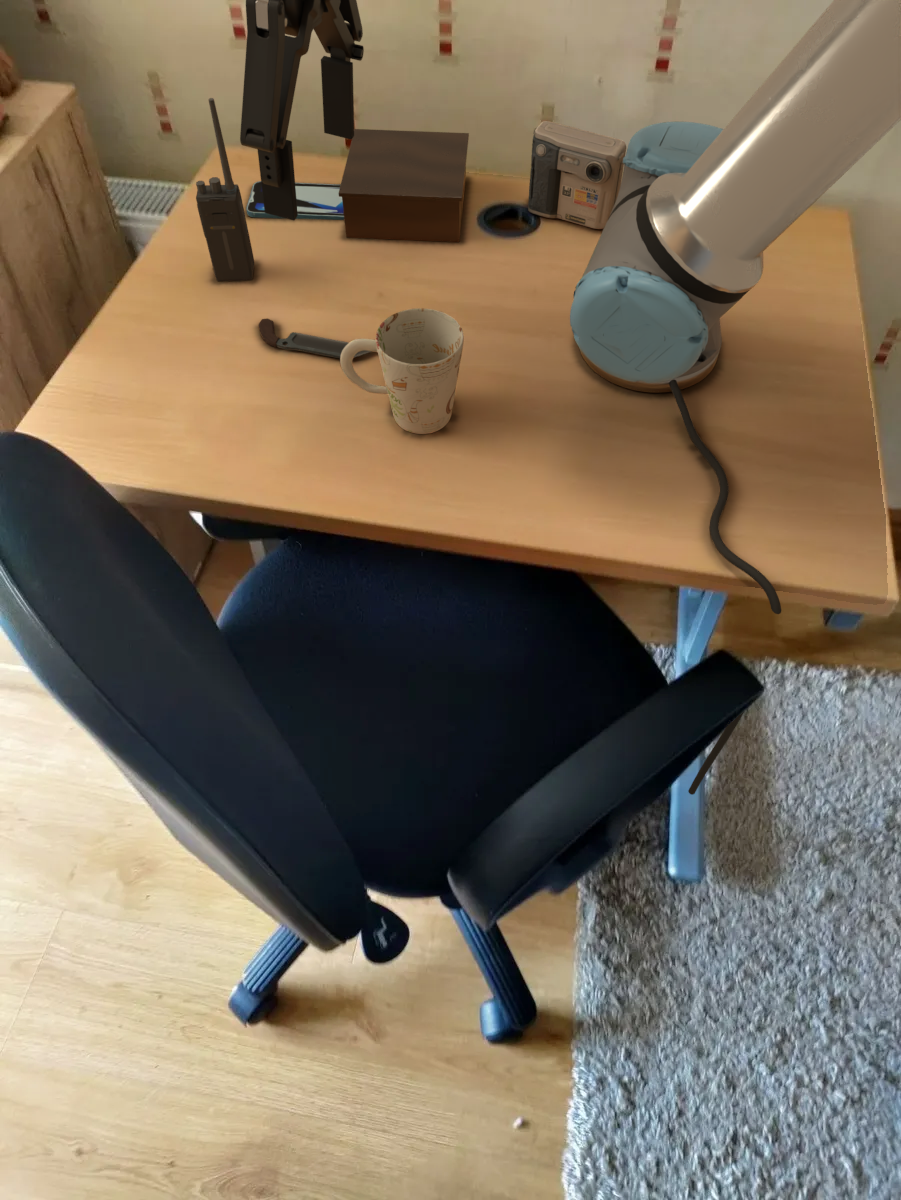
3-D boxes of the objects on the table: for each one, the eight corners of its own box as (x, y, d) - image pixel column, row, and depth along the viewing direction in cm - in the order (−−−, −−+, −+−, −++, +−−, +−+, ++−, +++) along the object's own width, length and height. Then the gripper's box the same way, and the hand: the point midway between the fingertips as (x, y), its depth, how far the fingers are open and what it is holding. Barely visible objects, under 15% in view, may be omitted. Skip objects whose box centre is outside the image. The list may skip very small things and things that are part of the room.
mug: (453, 448, 89) (454, 370, 80) (333, 430, 90) (321, 352, 82) (469, 392, 93) (471, 313, 85) (354, 376, 95) (345, 297, 87)
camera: (520, 212, 112) (525, 133, 104) (539, 190, 115) (546, 111, 107) (603, 238, 109) (615, 159, 101) (621, 214, 112) (634, 135, 104)
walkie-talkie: (256, 262, 106) (221, 89, 90) (254, 280, 104) (218, 105, 88) (216, 264, 106) (174, 90, 90) (214, 281, 104) (169, 107, 88)
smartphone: (363, 217, 111) (244, 212, 111) (364, 224, 112) (246, 219, 112) (369, 185, 115) (254, 180, 115) (369, 192, 116) (255, 187, 116)
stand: (461, 243, 108) (461, 197, 103) (343, 238, 109) (338, 192, 104) (468, 178, 117) (468, 132, 112) (358, 174, 117) (354, 128, 112)
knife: (249, 343, 98) (248, 338, 97) (263, 321, 100) (262, 316, 99) (369, 367, 95) (368, 361, 95) (381, 343, 98) (380, 338, 97)
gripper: (311, -184, 68) (324, 96, 86) (158, -61, 55) (211, 241, 73) (402, -165, 68) (397, 113, 85) (270, -36, 54) (296, 263, 72)
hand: (311, 172), depth 79 cm, fingers open, 13 cm apart
